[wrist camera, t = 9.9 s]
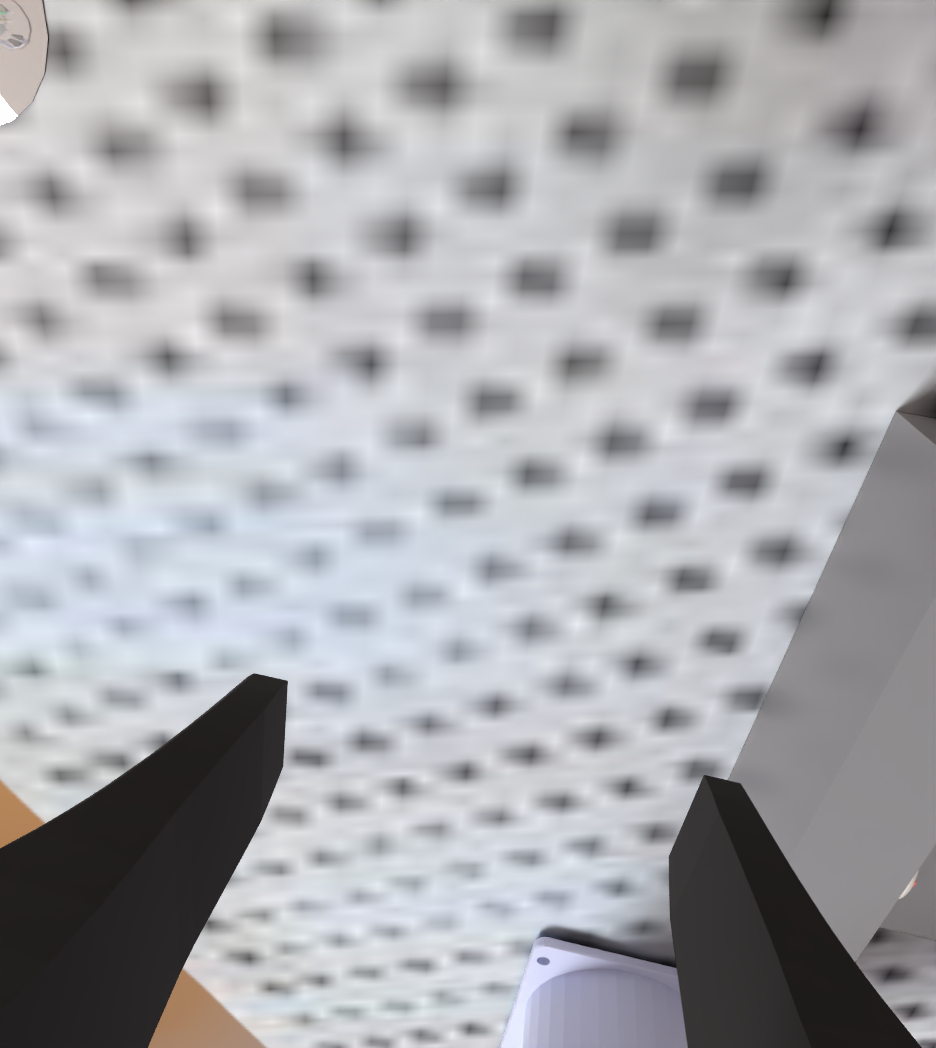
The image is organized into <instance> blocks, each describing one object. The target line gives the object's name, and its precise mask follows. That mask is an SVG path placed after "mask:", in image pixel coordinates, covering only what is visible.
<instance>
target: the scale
mask: <svg viewBox="0 0 936 1048" xmlns="http://www.w3.org/2000/svg"><path fill="white" fill-rule="evenodd" d="M728 780H729V781H733V782H737V783H741V785H742V786H743V788H744V789H745V791H746V793H747V794H748V796H749V798H750V799H751V801H752V803H753V804H754V806H755V808H756V809H757V811H758V813H759V814H760V816H761V818H762V819H763V821H764V823H765V824H766V826H767V828H768V829H769V831H770V833H771V834H772V836H773V838H774V839H775V841H776V843H777V844H778V846H779V848H780V849H781V851H782V853H783V854H784V856H785V858H786V859H787V861H788V862H789V864H790V866H791V867H792V869H793V870H794V872H795V874H796V875H797V877H798V878H799V880H800V882H801V883H802V885H803V886H804V888H805V889H806V891H807V892H808V894H809V895H810V897H811V899H812V900H813V902H814V903H815V905H816V906H817V908H818V909H819V911H820V913H821V914H822V916H823V917H824V919H825V920H826V922H827V923H828V925H829V926H830V927H831V929H832V930H833V932H834V933H835V935H836V936H837V938H838V939H839V941H840V942H841V943H842V945H843V946H844V948H845V949H846V950H847V952H848V953H849V955H850V956H851V957H852V959H853V960H854V962H856V961H857V959H858V958H859V956H860V955H861V953H862V952H863V950H864V949H865V947H866V946H867V944H868V943H869V941H870V940H871V939H872V937H873V936H874V934H875V933H876V931H877V930H878V928H879V927H880V928H884V929H888V930H893V931H897V932H901V933H906V934H910V935H914V936H918V937H923V938H927V939H931V940H935V941H936V419H933V418H928V417H923V416H918V415H912V414H907V413H902V412H897V411H896V412H895V415H894V417H893V419H892V421H891V423H890V426H889V428H888V430H887V432H886V434H885V437H884V439H883V441H882V443H881V445H880V448H879V450H878V452H877V454H876V456H875V459H874V461H873V463H872V465H871V467H870V470H869V472H868V474H867V476H866V478H865V480H864V483H863V485H862V487H861V489H860V491H859V494H858V496H857V498H856V500H855V502H854V505H853V507H852V509H851V511H850V513H849V516H848V518H847V520H846V522H845V524H844V527H843V529H842V531H841V533H840V535H839V538H838V540H837V542H836V544H835V546H834V549H833V551H832V553H831V555H830V557H829V560H828V562H827V564H826V566H825V568H824V571H823V573H822V575H821V577H820V579H819V582H818V584H817V586H816V588H815V590H814V593H813V595H812V597H811V599H810V601H809V604H808V606H807V608H806V610H805V612H804V614H803V617H802V619H801V621H800V623H799V625H798V628H797V630H796V632H795V634H794V636H793V639H792V641H791V643H790V645H789V647H788V650H787V652H786V654H785V656H784V658H783V661H782V663H781V665H780V667H779V669H778V672H777V674H776V676H775V678H774V680H773V683H772V685H771V687H770V689H769V691H768V694H767V696H766V698H765V700H764V702H763V705H762V707H761V709H760V711H759V713H758V716H757V718H756V720H755V722H754V724H753V727H752V729H751V731H750V733H749V735H748V738H747V740H746V742H745V744H744V746H743V749H742V751H741V753H740V755H739V757H738V759H737V762H736V764H735V766H734V768H733V770H732V773H731V775H730V777H729V779H728Z"/></svg>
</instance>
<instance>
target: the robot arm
mask: <svg viewBox="0 0 936 1048" xmlns="http://www.w3.org/2000/svg"><path fill="white" fill-rule="evenodd" d="M287 685H288V681H286V680H281V679H277V678H272V677H268V676H264V675H259V674H255V673H254V674H252V675H250V676H248V677H247V678H246V679H245V680H243V681H242V682H241V683H240V684H239V685H238V686H236V687H235V688H234V689H233V690H232V691H230V692H229V693H228V694H227V695H226V696H224V697H223V698H222V699H221V700H220V701H219V702H217V703H216V704H215V705H214V706H212V707H211V708H210V709H209V710H208V711H206V712H205V713H204V714H203V715H201V716H200V717H199V718H198V719H196V720H195V721H194V722H193V723H192V724H190V725H189V726H188V727H186V728H185V729H184V730H182V731H181V732H180V733H179V734H177V735H176V736H175V737H173V738H172V739H171V740H169V741H168V742H167V743H166V744H164V745H163V746H162V747H160V748H159V749H158V750H156V751H155V752H154V753H152V754H151V755H150V756H148V757H147V758H145V759H144V760H143V761H141V762H140V763H138V764H137V765H135V766H134V767H133V768H131V769H130V770H128V771H127V772H125V773H124V774H123V775H121V776H120V777H118V778H117V779H115V780H114V781H112V782H111V783H110V784H108V785H107V786H105V787H104V788H102V789H101V790H99V791H98V792H96V793H95V794H93V795H91V796H90V797H88V798H87V799H85V800H84V801H82V802H80V803H79V804H77V805H76V806H74V807H72V808H71V809H69V810H67V811H66V812H64V813H62V814H61V815H59V816H57V817H56V818H54V819H52V820H51V821H49V822H47V823H46V824H44V825H42V826H40V827H39V828H37V829H35V830H33V831H31V832H30V833H28V834H26V835H24V836H22V837H20V838H19V839H17V840H15V841H13V842H11V843H10V844H8V845H6V846H4V847H2V848H0V1048H148V1046H149V1043H150V1041H151V1038H152V1036H153V1034H154V1032H155V1029H156V1027H157V1025H158V1022H159V1020H160V1018H161V1016H162V1013H163V1011H164V1009H165V1006H166V1004H167V1002H168V999H169V997H170V995H171V993H172V990H173V988H174V986H175V984H176V981H177V979H178V977H179V974H180V972H181V970H182V968H183V966H184V964H185V962H186V960H187V958H188V956H189V954H190V952H191V950H192V948H193V946H194V944H195V942H196V940H197V939H198V937H199V935H200V933H201V931H202V929H203V928H204V926H205V924H206V922H207V920H208V918H209V917H210V915H211V913H212V911H213V909H214V907H215V906H216V904H217V902H218V900H219V898H220V896H221V895H222V893H223V891H224V889H225V887H226V885H227V884H228V882H229V880H230V878H231V876H232V874H233V873H234V871H235V869H236V867H237V865H238V863H239V862H240V860H241V858H242V856H243V854H244V852H245V850H246V849H247V847H248V845H249V843H250V841H251V839H252V837H253V836H254V834H255V832H256V830H257V828H258V826H259V824H260V822H261V820H262V818H263V815H264V813H265V810H266V808H267V806H268V803H269V801H270V798H271V796H272V793H273V791H274V788H275V786H276V783H277V781H278V778H279V776H280V773H281V771H282V768H283V759H284V740H285V722H286V704H287ZM669 897H670V921H671V929H672V937H673V945H674V952H675V960H676V967H677V968H674V967H670V966H666V965H662V964H657V963H653V962H649V961H645V960H641V959H637V958H633V957H628V956H624V955H620V954H616V953H612V952H608V951H603V950H599V949H595V948H591V947H587V946H583V945H579V944H574V943H570V942H566V941H562V940H558V939H554V938H550V937H540V938H538V939H536V941H535V942H534V944H533V948H532V951H531V954H530V957H529V960H528V963H527V966H526V969H525V972H524V975H523V978H522V981H521V984H520V987H519V990H518V993H517V996H516V999H515V1002H514V1005H513V1008H512V1011H511V1014H510V1017H509V1021H508V1024H507V1027H506V1030H505V1033H504V1036H503V1039H502V1042H501V1045H500V1048H922V1047H921V1046H920V1045H919V1044H918V1043H917V1041H916V1040H915V1039H914V1038H913V1036H912V1035H911V1034H910V1033H909V1031H908V1030H907V1029H906V1028H905V1026H904V1025H903V1024H902V1023H901V1021H900V1020H899V1019H898V1018H897V1016H896V1015H895V1014H894V1013H893V1011H892V1010H891V1009H890V1008H889V1007H888V1005H887V1004H886V1003H885V1002H884V1000H883V999H882V998H881V997H880V995H879V994H878V993H877V991H876V990H875V989H874V987H873V986H872V985H871V983H870V982H869V981H868V979H867V978H866V977H865V975H864V974H863V973H862V971H861V970H860V969H859V967H858V966H857V964H856V963H855V962H854V960H853V959H852V957H851V956H850V955H849V953H848V952H847V950H846V949H845V948H844V946H843V945H842V943H841V942H840V941H839V939H838V938H837V936H836V935H835V933H834V932H833V930H832V929H831V927H830V926H829V925H828V923H827V922H826V920H825V919H824V917H823V916H822V914H821V913H820V911H819V909H818V908H817V906H816V905H815V903H814V902H813V900H812V899H811V897H810V895H809V894H808V892H807V891H806V889H805V888H804V886H803V885H802V883H801V882H800V880H799V878H798V877H797V875H796V874H795V872H794V870H793V869H792V867H791V866H790V864H789V862H788V861H787V859H786V858H785V856H784V854H783V853H782V851H781V849H780V848H779V846H778V844H777V843H776V841H775V839H774V838H773V836H772V834H771V833H770V831H769V829H768V828H767V826H766V824H765V823H764V821H763V819H762V818H761V816H760V814H759V813H758V811H757V809H756V808H755V806H754V804H753V803H752V801H751V799H750V798H749V796H748V794H747V793H746V791H745V789H744V788H743V786H742V785H741V783H737V782H733V781H729V780H724V779H720V778H715V777H711V776H706V775H704V776H703V779H702V781H701V783H700V786H699V788H698V790H697V793H696V795H695V797H694V800H693V802H692V804H691V807H690V809H689V811H688V813H687V816H686V818H685V820H684V823H683V825H682V827H681V830H680V832H679V834H678V837H677V839H676V841H675V844H674V846H673V848H672V851H671V853H670V855H669Z"/></svg>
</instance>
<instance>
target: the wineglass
mask: <svg viewBox="0 0 936 1048" xmlns="http://www.w3.org/2000/svg"><path fill="white" fill-rule="evenodd" d="M47 43H48V35H47V28H46V22H45V16H44V9H43V3H42V0H0V125H1V124H4V123H7V122H10V121H13V120H14V119H15V118H16V117H17V116H18V115H19V114H20V113H21V112H22V111H23V110H24V109H25V108H26V107H27V106H28V105H29V104H30V103H31V102H32V101H33V99H34V96H35V94H36V92H37V90H38V87H39V85H40V83H41V80H42V78H43V76H44V73H45V63H46V53H47Z"/></svg>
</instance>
